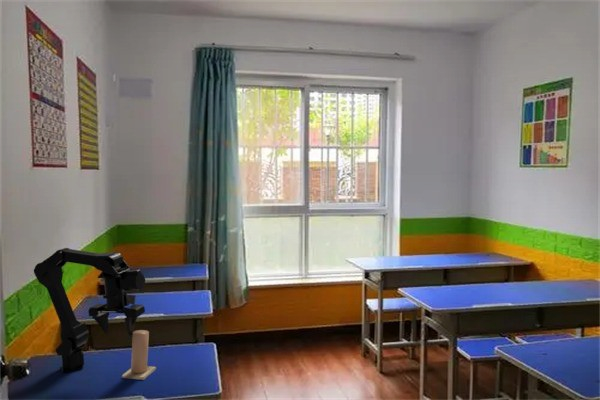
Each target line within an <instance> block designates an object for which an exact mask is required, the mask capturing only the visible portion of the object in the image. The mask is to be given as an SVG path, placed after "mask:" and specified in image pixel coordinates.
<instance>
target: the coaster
mask: <svg viewBox="0 0 600 400" xmlns="http://www.w3.org/2000/svg"><path fill="white" fill-rule="evenodd" d="M156 369H157V366H152V365H151V366H150V365H147V371H146V372H143V373H133V372H131V368H129V369H128V370H127V371H126V372H124V373H123V374H122V376H121V378H123V379H129V380H130V379H132V380H142V381H145V379H146V378H147V377H149V376H150V375H151V374H152V373H153V372H155V371H156Z"/></svg>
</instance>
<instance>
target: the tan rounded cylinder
mask: <svg viewBox="0 0 600 400" xmlns="http://www.w3.org/2000/svg"><path fill="white" fill-rule="evenodd" d="M149 336H150V332H149V331H148V330H144V329H139V330H138V329H137V330H133V332H132V338H131V339H132V343H131V361H130V369H131V372H133V373H143V372H146V371H147V366H148V359H149V357H148V356H149V355H148V354H149V338H150V337H149Z"/></svg>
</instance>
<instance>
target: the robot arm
mask: <svg viewBox="0 0 600 400" xmlns="http://www.w3.org/2000/svg"><path fill="white" fill-rule="evenodd" d="M67 263H72V264H77V265H78V264H79V265H84V266H90V267H93V268H95V269H96V270H97V271H100V272H101V273H100V274H99V275H98V276H97V278H98V279H103V281H104V282H103V284H104V291H105V294H103V295H102V296H103V297H102V298H103V299H106V300H105V301H106V303H97V304H95V305H93V306H90V307H89V308H88V310H87V312H88V313H87V314H88V317H91V319H93V320H94V321H95V322H96V323H97V324H98V325H99V326H100V328H101V329H102V331H103V332H104V333H105V335H107V336H108V335H109V334H110V325H109V315H110V314H124V316H125V318H124V323H125V327H126V331H127V334H128V336H129V337H130V336H133V332H134V329H135V326H136V325H135V324H136V321H137V319H138V318H139V317H140V316H141V315H143V314H144V313H146V309H145V305H143V304H139V303H138V304H136V295H135V294H128V292H127V291H142V290H143V289H144V288H145V285H146V278H145V276H144V274H143V273H142V272H141V269H133V270H132V268H131V267H130V265H128V263H127V261H125V260H124V257H123V256H122V254H121V253H120V252H118V251H111V252H110V251H109V252H108V251H107V252H100V253H99V252H97V253H96V252H91V251H84V250H78V249H71V248H68V247H64V248H61V249H58V250H56V251H55V252H54V253H53V254H52V255H50V256H48V257H47V258H46V259H44V260H43V261H41V262H38V263H36V264H35V266H34V269H33V273H34V276H35V278H36V279H37V281H38V283H39V284H40V285H42V286H44V288H45V289H46V291H47V293H48V295H49V298H50V300H51V304H52V306H53V308H54V310H55V313H56V315H57V318H58V320H59V323H60V326H61V331H60V339H61V343H60V344H58V346H57V347H56V348H55V352H56V355H57V356H61V370H62V371H61V372H62V373H63V374H65V373H69V372H73V371H80V370H83V369H84V365H85V357H84V356H85V355H84V351H82V348H85V346H86V344H87V342H88V341H89V337H90V335H89V333H90V331H89V330H88V328H87V327H88V326H87V323H85V322H82V323H81V322H80V321H79V320H77V318H76V315H75V312H74V310H73V307H72V305H71V303H70V300H69V298H68V295H67V293H66V290H65V287H64V285H63V276H64V275H63V274H64V271H63V267H64V266H65V265H66V264H67Z"/></svg>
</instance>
